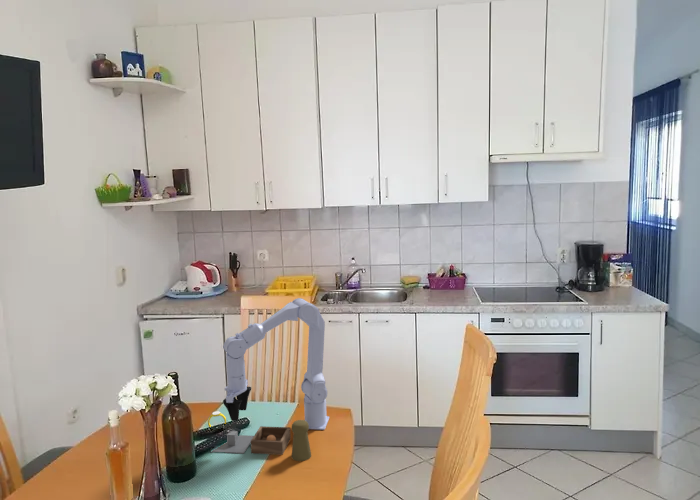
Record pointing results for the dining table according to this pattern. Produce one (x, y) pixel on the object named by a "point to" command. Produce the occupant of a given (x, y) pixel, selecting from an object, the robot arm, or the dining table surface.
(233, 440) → the lid
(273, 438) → the ball
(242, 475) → the dining table surface
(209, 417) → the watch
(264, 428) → the box
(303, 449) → the olive tapered shaker
